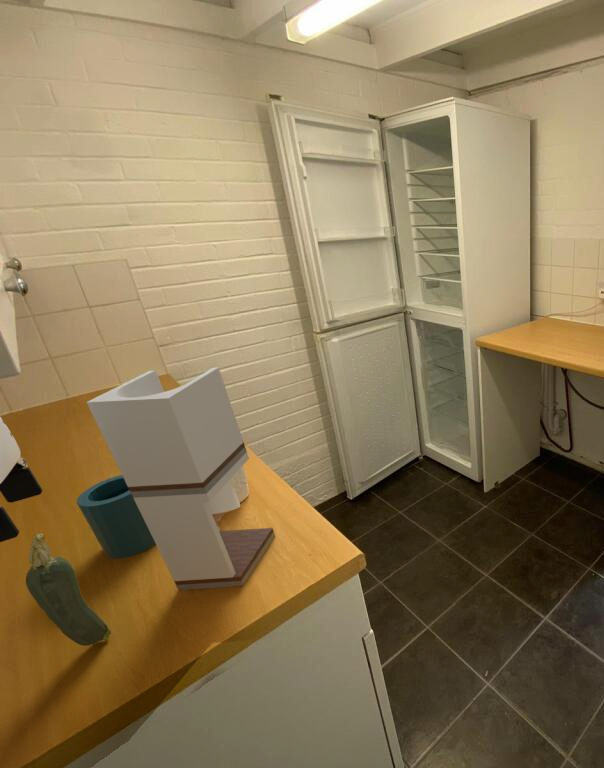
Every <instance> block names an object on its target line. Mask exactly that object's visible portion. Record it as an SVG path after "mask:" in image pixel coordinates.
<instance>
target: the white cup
mask: <svg viewBox="0 0 604 768" xmlns="http://www.w3.org/2000/svg"><path fill="white" fill-rule="evenodd" d="M231 481H232V484H233V486H234V489H235V492H236V495H237V497H238V500H239V503H242V502H243V501H245V500H246V499H247V498H248V497H249V495H250V487H249V485H248V478H247V475H246V470H245V466H244V465H243V466H242V467H241V468H240V469H239V470H238V471H237V472H236V473H235V474H234V475H233V476H232V477H231Z"/></svg>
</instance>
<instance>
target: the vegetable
mask: <svg viewBox="0 0 604 768" xmlns="http://www.w3.org/2000/svg"><path fill="white" fill-rule="evenodd" d="M33 536H34V537H33V538H32V541H31V543H30V546H31V548H29V549H30V550H29V552H28V563H29V564H31V567H30V568H29V569H28V571H27V573H26V577H25V585H26V588H27V590H28V591H29V592H28V593H29V594H30V595H31V597H32V598H33V599H34V600H35V602H36V604H37V605H38V606H39V608H41V610H42V611H43V613H44V614H45V615H46V616H47V617H48V619H49V620H50V621H51V622H52V623H54V624H55V626H56V627H57V628H58V629H59V630H60V631H61V633H63V635H64V636H65V637H67V638H68V639H70V640H71V641H73V642H74V643H76V644H77V645H79V646H84V647H85V646H86V647H87V646H91V645H96V644H99V643H100V642H103V641H107V640H109V638H110V637H109V636H110V635H111V634H112V631H111V629H110V628H109V627H108V624H106V622H105V621H104V620H103V619H102V618H101V617H100V616H99V615H98V614H97V612H95V610H94V609H92V607H90V606H89V605H88V604H87V603H86V601H85V599H84V598H83V596H82V592H81V589H80V586H79V585H80V584H79V582H78V579H77V575H76V572H75V569H74V567H73V566H72V564H71V563H70V562H69V560H67V559H66V558H63V557H60V556H52V555H51V554H52V552H51V551H52V550H51V549H50V546H49V544H48V543H47V542H46V541H45V540H46V535H45V534H44V533H35V534H33Z"/></svg>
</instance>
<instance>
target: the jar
mask: <svg viewBox="0 0 604 768" xmlns="http://www.w3.org/2000/svg"><path fill="white" fill-rule="evenodd" d="M76 505H77V506H78V508H79V510H80V511H81V513H82V515H83V517H84V518H85V521H86V523H87V524H88V526H89V528H90V530H91V531H92V533H93V535H94V537H95V538H96V540H97V542H98V544H99V545H100V547H101V549H102V551H103V552H104V553H105V555H106V556H107V557H108V558H111V559H123V558H129V557H132V556H135V555H138V554H141V553H142V552H144V551H147V550H148V549H150V548H152V547H153V546H155V545H156V543H155V541H154V539H153V537H152V535H151V533H150V531H149V529H148V527H147V525H146V523H145V521H144V519H143V517H142V515H141V512H140V510H139V508H138V506H137V504H136V502H135V500H134V498H133V496H132V494H131V492H130V490H129V488H128V486H127V484H126V482H125V480H124V478H123V476H122V474H119V475H116V476H113V477H109V478H106V479H105V480H102V481H100V482H97V483H95V484H94V485H92V486H90V487H88V488H87V489H85V490H84V491H83V492H82V493H81V494H79V496H78V497H77V499H76Z"/></svg>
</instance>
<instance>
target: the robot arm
mask: <svg viewBox="0 0 604 768" xmlns="http://www.w3.org/2000/svg"><path fill="white" fill-rule="evenodd" d="M42 492H43V488H42V486H41V485H40V483H39V482H38V480H37V478H36V476H35V475H34V473H33V472H32V470H31V468H30V467H28V462H27V460H26V458H24V457H22V456H21V449H20V447H19V445H18V443H17V441H16V438H15V437H14V435H13V434H12V432H11V430H10V429H9V427H8V425H6V423H5V422H4V420H3V418H2V417H1V416H0V493H1V495H2V496H3V497H4V499H5V500H6V502H7V503H16V502H19V501H22V500H26V499H30V498H33V497H37V496H40V495H41V494H42ZM19 534H20V530H19V529H18V527H17V525H16V524H15V523H14V521H13V519H12V518H11V517H10V516H9V514H8V512H7V510H6V509H5V508H4V507H3V506H0V543H3V542H6V541H9V540H11V539H15V538H17V537H18V536H19Z"/></svg>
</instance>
